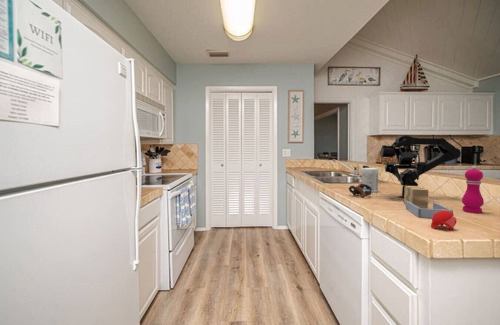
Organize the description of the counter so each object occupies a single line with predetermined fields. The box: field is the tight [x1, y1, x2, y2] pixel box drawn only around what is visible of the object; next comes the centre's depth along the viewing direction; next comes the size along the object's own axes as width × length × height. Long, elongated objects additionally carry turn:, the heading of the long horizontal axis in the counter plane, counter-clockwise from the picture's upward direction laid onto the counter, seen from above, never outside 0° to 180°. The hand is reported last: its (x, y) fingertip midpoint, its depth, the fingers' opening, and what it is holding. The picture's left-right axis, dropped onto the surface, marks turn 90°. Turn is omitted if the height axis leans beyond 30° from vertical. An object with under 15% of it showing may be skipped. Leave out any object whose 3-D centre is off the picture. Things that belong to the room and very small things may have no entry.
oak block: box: [403, 185, 429, 209], centre depth 121 cm, size 12×6×9 cm, turn 165°
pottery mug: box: [348, 183, 373, 199], centre depth 146 cm, size 12×10×8 cm
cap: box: [430, 210, 457, 231], centre depth 89 cm, size 8×6×6 cm
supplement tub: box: [361, 167, 379, 193], centre depth 163 cm, size 10×10×15 cm
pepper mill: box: [461, 165, 485, 214], centre depth 111 cm, size 7×7×20 cm
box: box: [405, 201, 454, 219], centre depth 108 cm, size 16×12×4 cm
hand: (408, 179), depth 131 cm, fingers open, 8 cm apart
